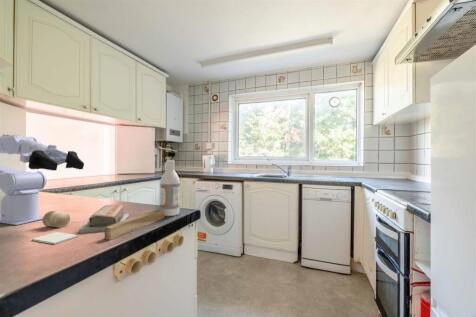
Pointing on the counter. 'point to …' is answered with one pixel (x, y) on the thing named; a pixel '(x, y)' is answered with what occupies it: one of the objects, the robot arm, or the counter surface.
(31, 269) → the counter surface
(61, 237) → the felt mat
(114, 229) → the rail
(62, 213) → the roller
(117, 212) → the packaged product
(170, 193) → the bath foam
